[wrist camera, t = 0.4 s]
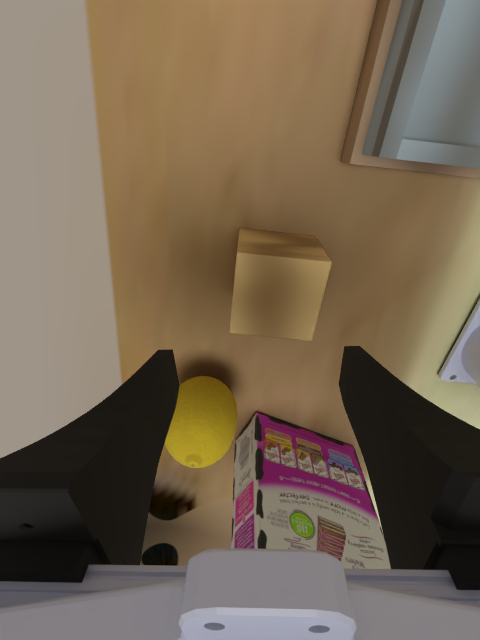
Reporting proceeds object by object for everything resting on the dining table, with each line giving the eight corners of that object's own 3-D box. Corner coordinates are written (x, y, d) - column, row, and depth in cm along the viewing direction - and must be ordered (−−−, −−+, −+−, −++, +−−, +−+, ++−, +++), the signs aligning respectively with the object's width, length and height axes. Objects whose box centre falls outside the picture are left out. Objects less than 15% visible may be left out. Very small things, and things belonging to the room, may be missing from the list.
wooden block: (314, 235, 21) (331, 262, 16) (299, 302, 23) (311, 340, 19) (239, 227, 21) (237, 252, 16) (232, 295, 23) (229, 332, 19)
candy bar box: (232, 441, 31) (219, 695, 17) (255, 409, 29) (261, 672, 15) (328, 473, 33) (386, 721, 19) (356, 445, 31) (446, 704, 17)
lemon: (162, 370, 27) (133, 451, 20) (220, 347, 25) (209, 426, 19) (195, 412, 29) (179, 498, 22) (249, 393, 28) (249, 478, 21)
